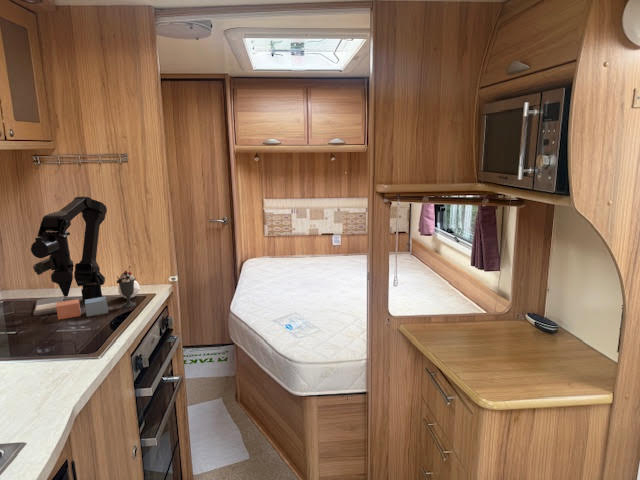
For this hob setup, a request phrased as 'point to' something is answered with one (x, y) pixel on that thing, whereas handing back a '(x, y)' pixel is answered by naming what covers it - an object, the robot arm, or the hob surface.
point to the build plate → (47, 305)
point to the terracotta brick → (68, 309)
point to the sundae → (127, 287)
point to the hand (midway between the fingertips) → (66, 292)
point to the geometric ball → (136, 290)
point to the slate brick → (96, 306)
